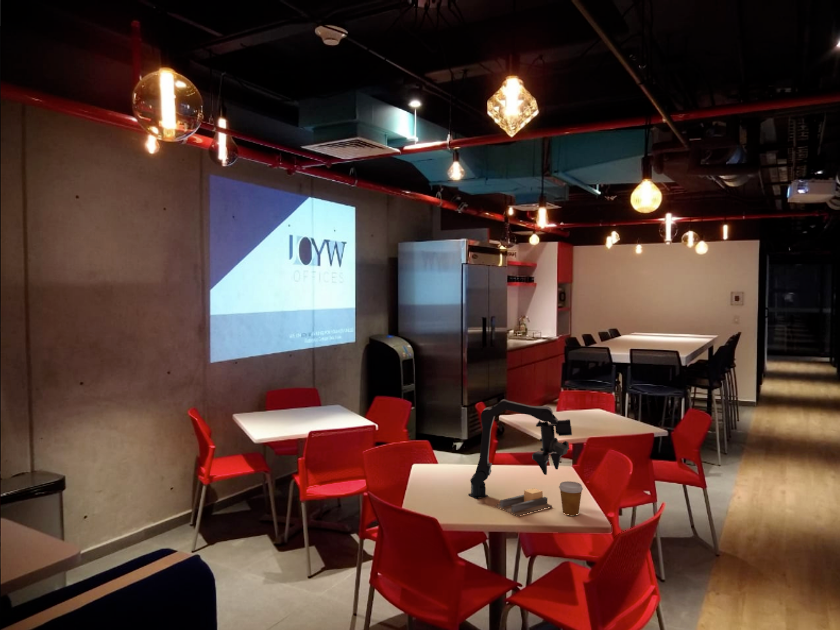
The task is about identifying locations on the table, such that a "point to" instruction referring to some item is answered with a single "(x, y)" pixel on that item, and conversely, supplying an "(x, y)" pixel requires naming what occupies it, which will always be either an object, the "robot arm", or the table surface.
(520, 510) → the chute
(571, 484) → the disposable coffee cup
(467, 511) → the table surface
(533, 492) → the block
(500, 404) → the robot arm
